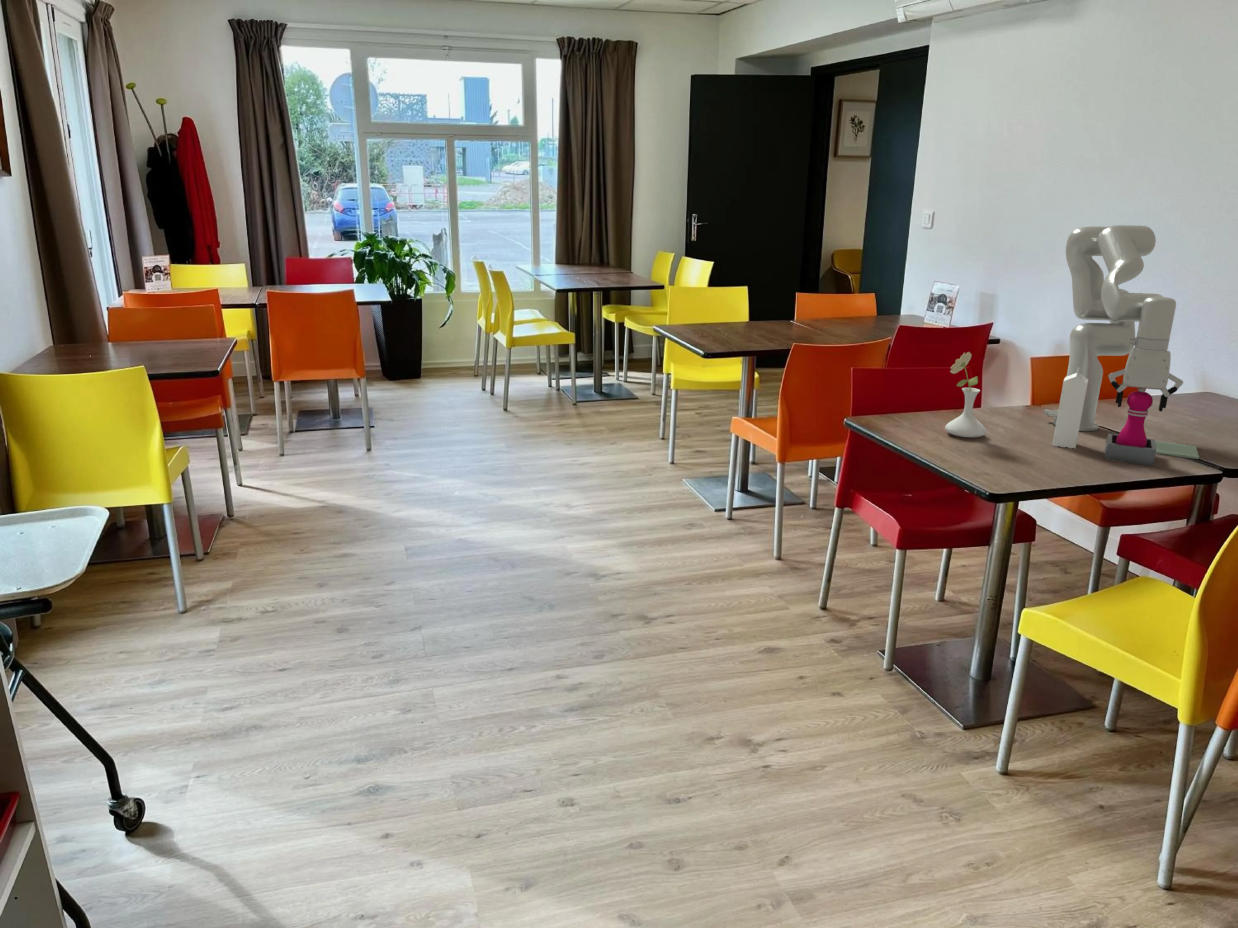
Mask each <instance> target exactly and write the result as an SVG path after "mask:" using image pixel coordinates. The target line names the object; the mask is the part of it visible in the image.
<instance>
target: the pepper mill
mask: <svg viewBox="0 0 1238 928" xmlns="http://www.w3.org/2000/svg"><path fill="white" fill-rule="evenodd" d="M1137 389H1138V390H1137V391H1133V392H1131V393H1129V394H1128V396H1127V398H1126V404H1127V406H1128V407H1127V411H1126V414H1127V418H1126V419H1127V420H1126V423H1125V425H1124V426H1123V428H1122V429H1121V430H1120V431H1119V433H1118V434H1117V435H1118V437H1117V440H1116V443H1117V444H1122V445H1129V446H1137V447H1146V444H1147V435H1146V431H1145V420H1146V417H1147V416H1149V412H1150V411H1149V410H1148V409H1150V408H1151V407H1152V406H1153V399H1154V398H1153V396H1152V395H1151V394H1150V393H1148V392H1146V390H1147V389H1146V388H1137Z"/></svg>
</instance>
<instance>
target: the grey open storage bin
mask: <svg viewBox="0 0 1238 928" xmlns="http://www.w3.org/2000/svg"><path fill="white" fill-rule="evenodd" d="M1118 435H1119V434H1117V433H1116V434H1115V433H1107V435H1106V436H1107V437H1106V442H1105V447H1104V460H1105V459H1109V460H1108V461H1112V460H1115V461H1114V462H1119V461H1122V462H1121V463H1127V462H1128V463H1129V464H1134V465H1135V464H1136V465H1143V466H1149V467H1150V466H1151V467H1154V463H1155V459H1156V444H1155V441H1156V439H1154V438H1147V437H1146V438H1147V444H1146V447H1137V446H1129V445H1122V444H1117V443H1116V440H1117V437H1118ZM1128 463H1127V464H1128Z"/></svg>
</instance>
